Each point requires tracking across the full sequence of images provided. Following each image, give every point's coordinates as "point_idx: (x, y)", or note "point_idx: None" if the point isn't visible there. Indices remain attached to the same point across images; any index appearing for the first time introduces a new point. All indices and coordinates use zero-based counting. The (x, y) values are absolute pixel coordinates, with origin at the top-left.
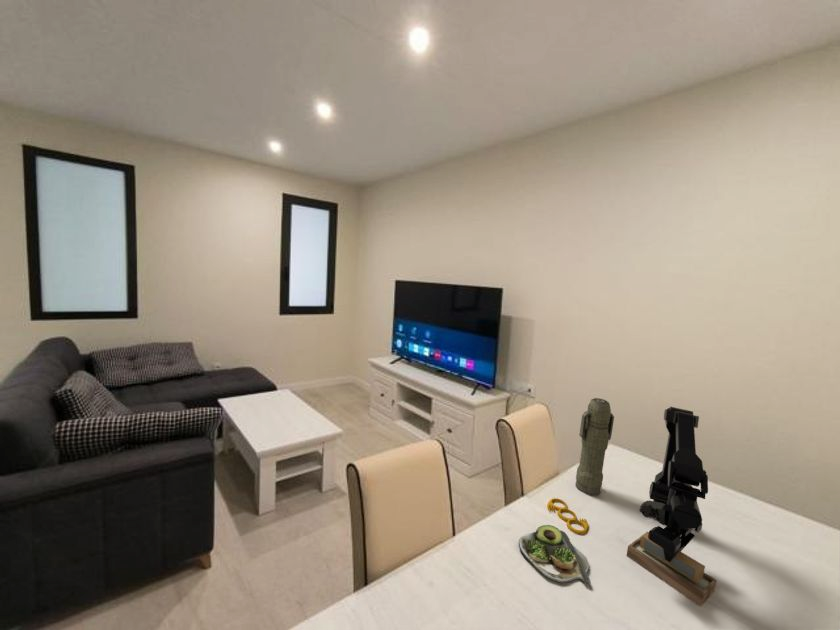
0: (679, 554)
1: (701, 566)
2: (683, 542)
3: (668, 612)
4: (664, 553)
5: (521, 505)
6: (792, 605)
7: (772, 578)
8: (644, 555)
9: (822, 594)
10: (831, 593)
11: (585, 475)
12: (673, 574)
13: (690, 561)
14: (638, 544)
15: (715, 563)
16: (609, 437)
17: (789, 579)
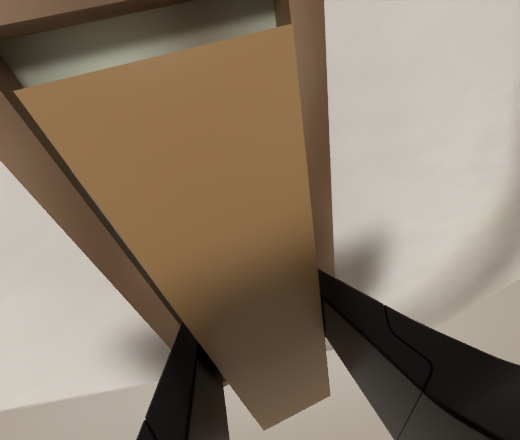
0: (283, 362)
1: (310, 402)
2: (394, 430)
3: (33, 381)
4: (169, 357)
5: None
6: (421, 313)
7: (482, 260)
8: (61, 205)
9: (491, 289)
10: (504, 287)
11: None
12: (170, 336)
13: (290, 392)
14: (164, 18)
15: (445, 208)
16: None
17: (501, 263)
